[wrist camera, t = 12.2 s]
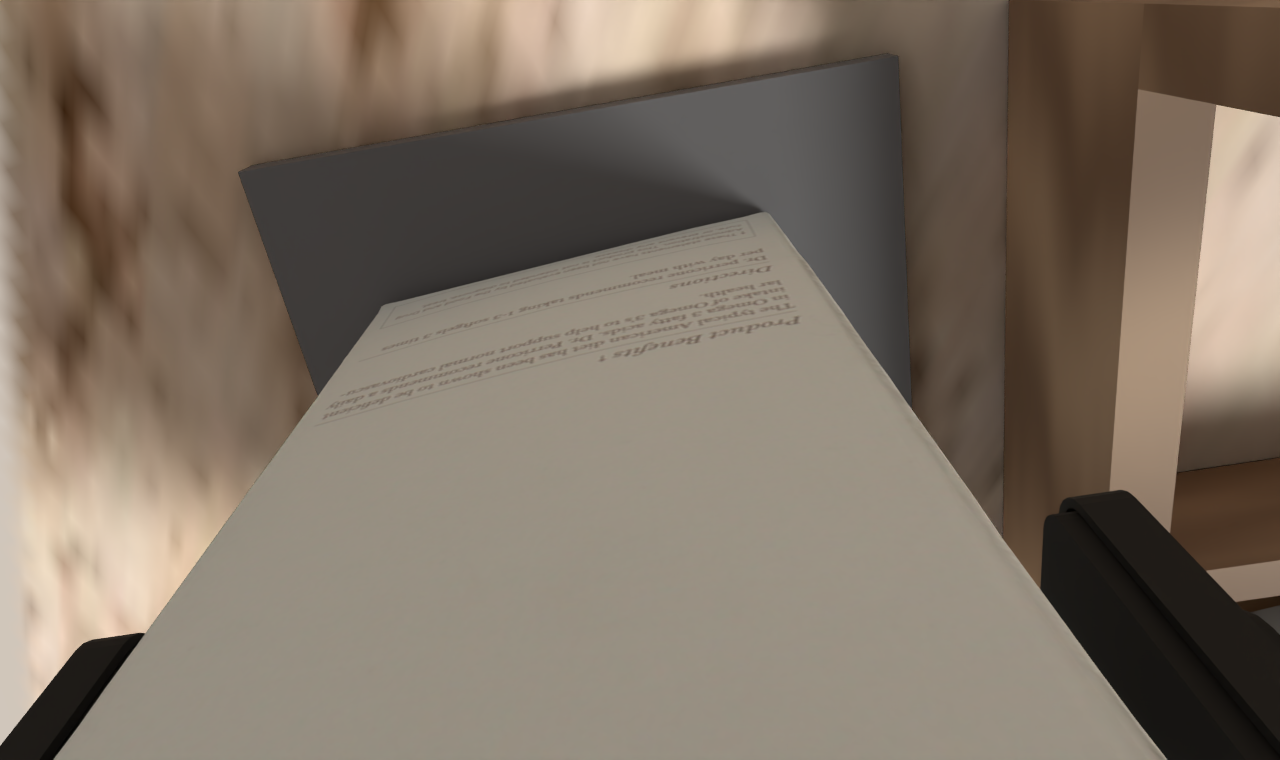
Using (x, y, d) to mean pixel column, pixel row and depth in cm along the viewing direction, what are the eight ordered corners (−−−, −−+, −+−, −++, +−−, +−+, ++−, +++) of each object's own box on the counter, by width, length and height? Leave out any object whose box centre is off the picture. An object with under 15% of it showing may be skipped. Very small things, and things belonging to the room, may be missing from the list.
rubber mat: (252, 165, 15) (237, 172, 14) (887, 53, 14) (898, 56, 14) (422, 652, 19) (416, 671, 19) (910, 581, 19) (919, 599, 18)
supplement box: (498, 616, 18) (289, 1677, 7) (375, 295, 15) (-369, 1219, 4) (842, 548, 18) (1247, 1577, 6) (784, 198, 15) (1363, 949, 3)
